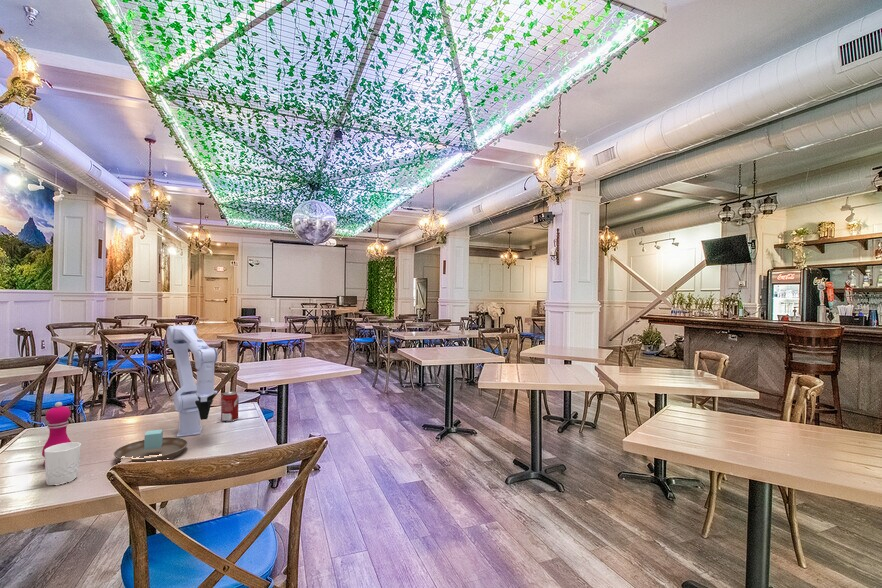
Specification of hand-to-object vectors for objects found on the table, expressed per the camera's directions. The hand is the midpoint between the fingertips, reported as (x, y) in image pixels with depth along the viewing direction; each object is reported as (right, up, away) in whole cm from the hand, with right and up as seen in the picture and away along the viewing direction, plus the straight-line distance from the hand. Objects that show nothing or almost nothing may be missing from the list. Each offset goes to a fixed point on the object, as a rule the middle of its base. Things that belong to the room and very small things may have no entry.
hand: (204, 416), depth 154 cm
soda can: (-4, -10, +26) cm, 28 cm away
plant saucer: (-10, -10, -14) cm, 20 cm away
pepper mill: (-35, -9, -22) cm, 42 cm away
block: (-10, -6, -14) cm, 18 cm away
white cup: (-23, -9, -33) cm, 41 cm away
